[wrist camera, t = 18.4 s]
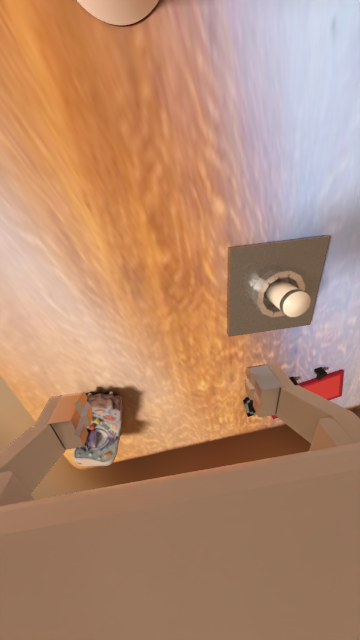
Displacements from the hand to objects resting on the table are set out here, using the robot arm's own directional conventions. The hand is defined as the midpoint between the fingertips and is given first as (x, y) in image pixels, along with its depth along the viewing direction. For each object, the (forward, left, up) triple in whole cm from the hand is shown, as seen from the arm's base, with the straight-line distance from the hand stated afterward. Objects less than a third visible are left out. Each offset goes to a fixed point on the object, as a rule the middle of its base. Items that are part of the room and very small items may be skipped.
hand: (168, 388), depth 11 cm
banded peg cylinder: (+10, +24, -33) cm, 42 cm away
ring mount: (+10, +24, -34) cm, 43 cm away
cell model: (+40, -21, -34) cm, 57 cm away
